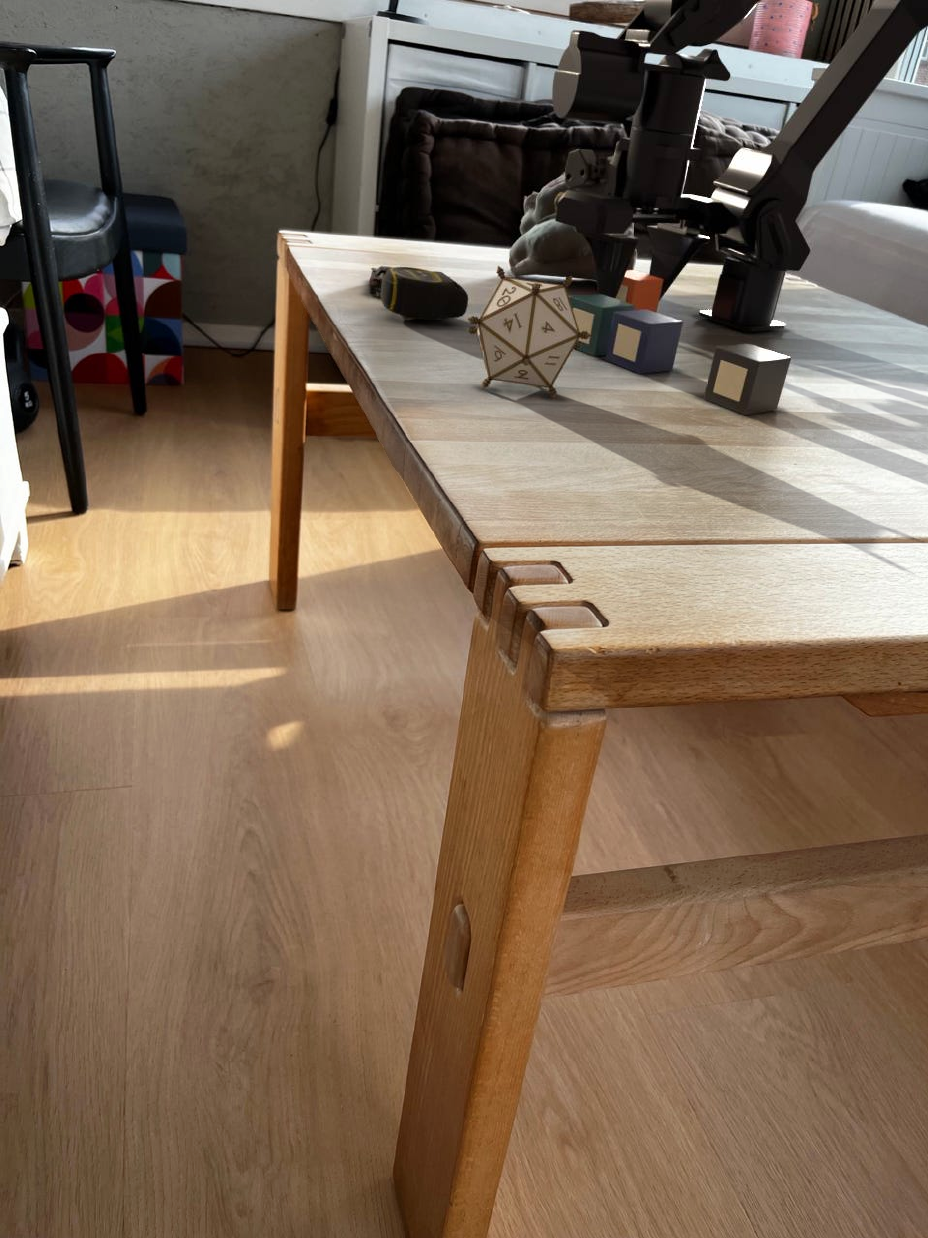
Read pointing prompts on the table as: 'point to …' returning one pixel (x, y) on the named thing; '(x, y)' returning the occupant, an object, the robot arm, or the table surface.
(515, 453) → the table surface
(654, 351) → the block
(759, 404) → the block
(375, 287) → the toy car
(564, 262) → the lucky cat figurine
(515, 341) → the game die
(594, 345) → the block
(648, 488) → the table surface
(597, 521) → the table surface
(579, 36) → the robot arm
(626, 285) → the loose block
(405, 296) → the tape measure
